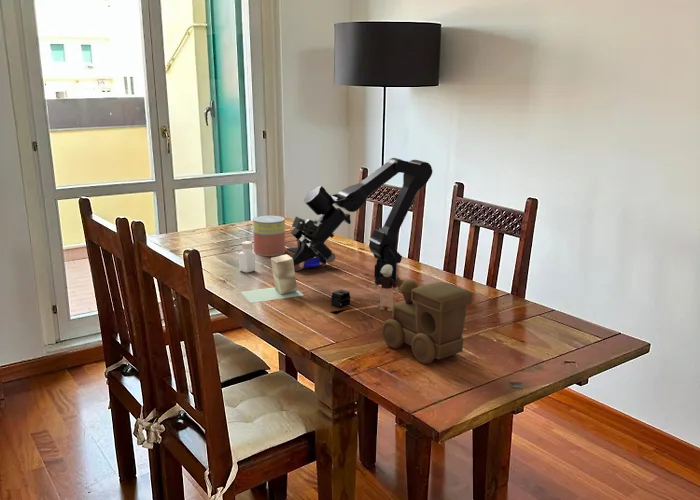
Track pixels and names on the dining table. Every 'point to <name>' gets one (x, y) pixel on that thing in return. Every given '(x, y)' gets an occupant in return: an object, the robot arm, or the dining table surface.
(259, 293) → the mat
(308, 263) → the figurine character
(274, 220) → the canned food
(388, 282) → the grandmother figurine
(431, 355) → the wooden toy train
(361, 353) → the dining table surface
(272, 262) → the maple block
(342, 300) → the black boxy device
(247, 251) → the pepper shaker
